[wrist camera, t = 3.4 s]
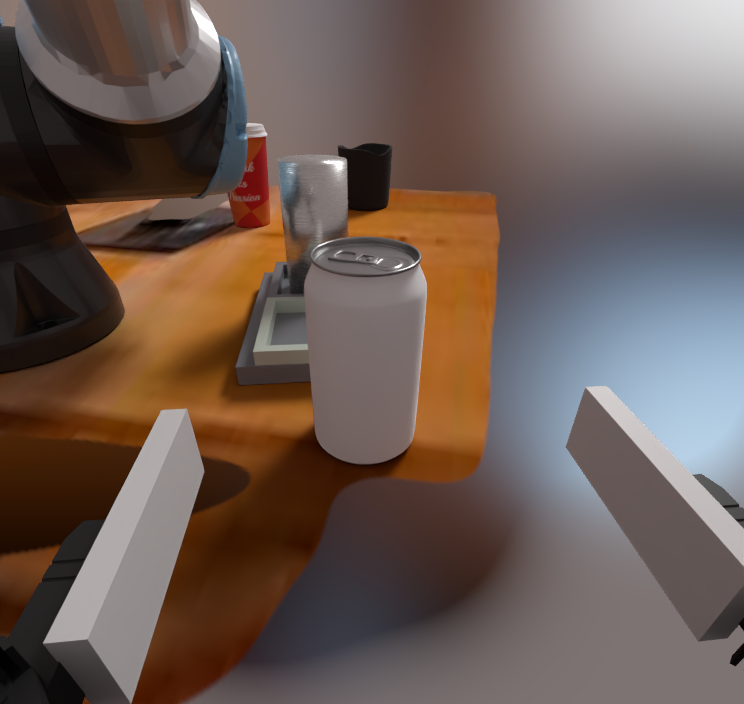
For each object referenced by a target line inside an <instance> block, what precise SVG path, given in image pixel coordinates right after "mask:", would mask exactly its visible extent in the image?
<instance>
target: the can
mask: <svg viewBox="0 0 744 704" xmlns="http://www.w3.org/2000/svg"><path fill="white" fill-rule="evenodd" d="M421 258H422V256H421V253H420V251H419V250H418V249H417V248H415V247H414V246H412V245H410V244H408V243H405V242H402V241H398V240H394V239H389V238H381V237H348V238H341V239H335V240H331V241H328V242H325V243H322V244H320V245H318V246H316V247H315V248H314V249H313V250H312V251H311V253H310V260H311V262H312V264H311V267H310V269H309V271H308V273H307V276H306V279H305V282H304V299H305V314H306V327H307V340H308V353H309V366H310V378H311V391H312V403H313V415H314V425H315V433H316V437H317V440H318V442H319V444H320V445H321V446H322V448H323V449H324V450H325V451H327V452H328V453H329V454H331V455H332V456H334V457H336V458H338V459H340V460H342V461H344V462H348V463H352V464H358V465H372V464H378V463H382V462H385V461H388V460H390V459H392V458H394V457H396V456H398V455H399V454H401V453H402V452H404V451H405V450H406V449H407V448H408V447H409V445H410V444H411V442H412V439H413V436H414V430H415V422H416V412H417V401H418V390H419V379H420V368H421V357H422V346H423V335H424V323H425V311H426V298H427V283H426V279H425V276H424V274H423V272H422V269H421V267H420V261H421Z"/></svg>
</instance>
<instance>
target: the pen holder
mask: <svg viewBox="0 0 744 704" xmlns="http://www.w3.org/2000/svg"><path fill="white" fill-rule="evenodd" d="M338 154H339V157H343V158H346V159H347V187H348V209H353V210H378V209H382V208H385V207H386V206H387V205H388V200H389V187H390V173H391V157H392V146H390V145H385V144H376V143H369V144H368V143H367V144H362V145H360V146H358V147H355V148H353V149H347V148H345V147H344V146H338Z"/></svg>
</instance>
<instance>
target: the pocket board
mask: <svg viewBox="0 0 744 704" xmlns="http://www.w3.org/2000/svg"><path fill="white" fill-rule="evenodd" d="M235 368H236V373H237V378H238V384H239V385H249V384H270V383H292V382H311V378H310V366H309V353H308V340H307V327H306V314H305V299H304V294H291V293H290V290H289V280H288V269H287V262H276V266H275V270H274V273H264V277H263V280H262V283H261V286H260V290H259V293H258V296H257V299H256V302H255V306H254V309H253V312H252V315H251V319H250V322H249V325H248V328H247V331H246V335H245V338H244V341H243V344H242V348H241V351H240V354H239V357H238V360H237V364H236V367H235Z"/></svg>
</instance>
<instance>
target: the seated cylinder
mask: <svg viewBox="0 0 744 704" xmlns="http://www.w3.org/2000/svg"><path fill="white" fill-rule="evenodd" d="M277 169H278V179H279V189H280V199H281V209H282V219H283V229H284V239H285V249H286V259H287V269H288V280H289V290H290V293H291V294H304V282H305V279H306V276H307V273H308V271H309V269H310V267H311V264H312V262H311V260H310V253H311V251H312V250H313V249H314V248H315V247H316V246H318V245H320V244H322V243H325V242H328V241H331V240H335V239H341V238H348V187H347V159H346V158H343V157H339V156H331V155H295V156H287V157H282V158H279V159H277Z"/></svg>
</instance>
